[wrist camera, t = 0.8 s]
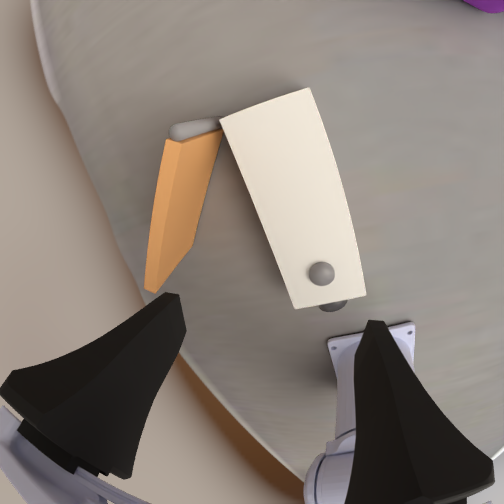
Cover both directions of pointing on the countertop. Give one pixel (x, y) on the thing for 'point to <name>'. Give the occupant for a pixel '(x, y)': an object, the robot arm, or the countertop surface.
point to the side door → (180, 195)
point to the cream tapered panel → (298, 198)
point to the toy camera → (488, 5)
